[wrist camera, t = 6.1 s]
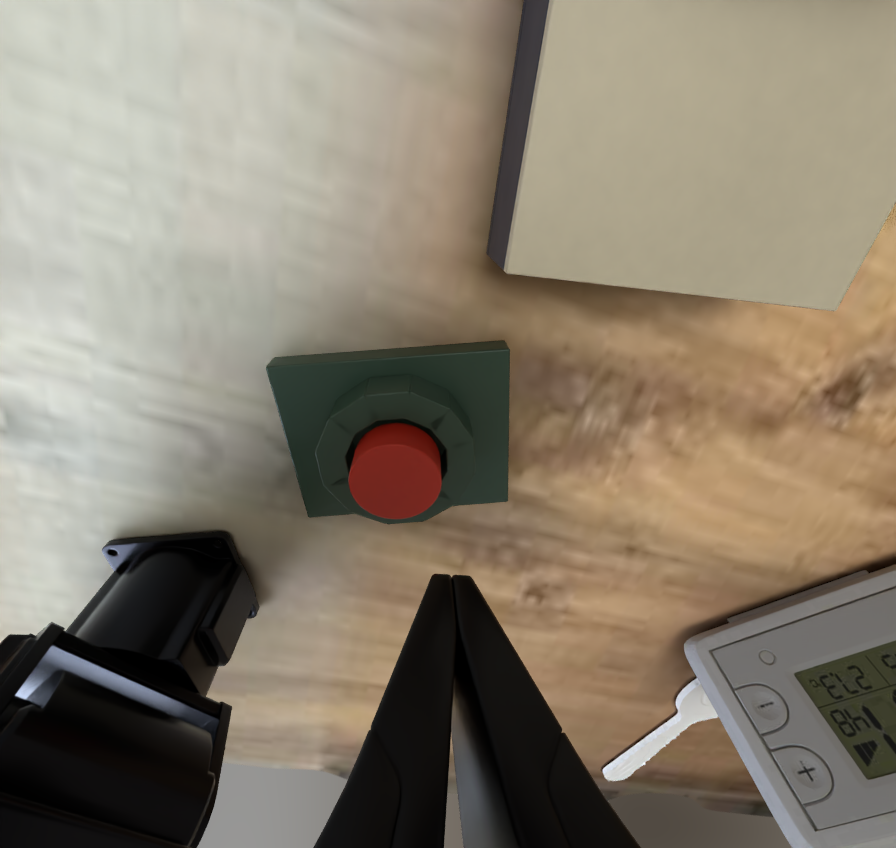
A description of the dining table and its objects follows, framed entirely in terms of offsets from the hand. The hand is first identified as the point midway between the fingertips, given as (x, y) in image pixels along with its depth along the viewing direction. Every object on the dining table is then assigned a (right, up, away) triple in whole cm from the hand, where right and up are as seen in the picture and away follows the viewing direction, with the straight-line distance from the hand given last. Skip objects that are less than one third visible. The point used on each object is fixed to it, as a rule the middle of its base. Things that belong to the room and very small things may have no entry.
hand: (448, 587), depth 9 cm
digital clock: (+24, -9, +20) cm, 32 cm away
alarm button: (-2, +2, +9) cm, 9 cm away
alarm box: (-2, +3, +11) cm, 12 cm away
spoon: (+18, -21, +26) cm, 38 cm away
